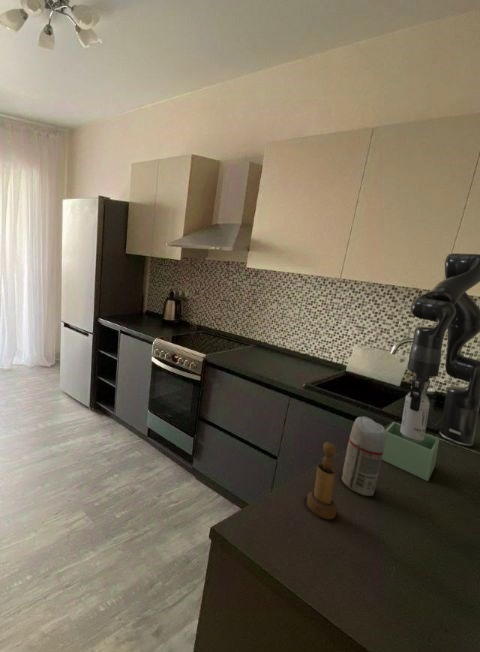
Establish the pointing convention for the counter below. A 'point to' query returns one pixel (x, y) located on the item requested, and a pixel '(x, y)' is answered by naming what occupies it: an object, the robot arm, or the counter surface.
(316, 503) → the mortar and pestle
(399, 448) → the waste bin
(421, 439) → the energy drink can
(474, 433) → the robot arm
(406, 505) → the counter surface
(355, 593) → the counter surface
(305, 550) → the counter surface
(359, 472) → the spray can
